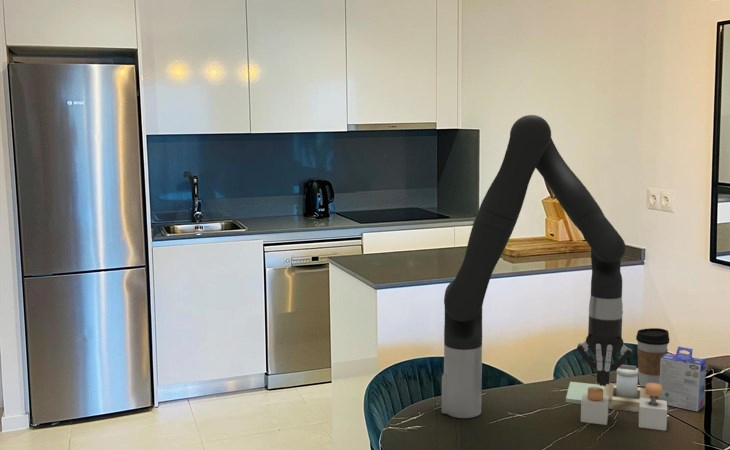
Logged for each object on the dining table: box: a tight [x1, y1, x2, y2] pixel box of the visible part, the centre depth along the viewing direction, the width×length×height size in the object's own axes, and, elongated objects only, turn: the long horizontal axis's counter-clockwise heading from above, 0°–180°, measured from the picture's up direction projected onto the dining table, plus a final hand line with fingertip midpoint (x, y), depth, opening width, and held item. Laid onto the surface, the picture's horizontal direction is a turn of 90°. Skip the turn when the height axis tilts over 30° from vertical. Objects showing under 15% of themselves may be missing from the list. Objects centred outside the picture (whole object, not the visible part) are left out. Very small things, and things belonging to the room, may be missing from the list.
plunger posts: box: [580, 393, 668, 431], centre depth 176 cm, size 19×7×5 cm, turn 70°
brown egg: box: [645, 383, 662, 406], centre depth 173 cm, size 4×4×6 cm
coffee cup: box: [635, 327, 671, 388], centre depth 199 cm, size 8×8×15 cm
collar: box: [603, 383, 651, 413], centre depth 187 cm, size 11×11×2 cm
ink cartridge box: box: [657, 346, 707, 412], centre depth 185 cm, size 10×6×14 cm, turn 53°
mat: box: [565, 381, 604, 405], centre depth 193 cm, size 9×13×1 cm
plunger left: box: [587, 387, 603, 400], centre depth 177 cm, size 4×4×6 cm
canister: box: [615, 364, 639, 399], centre depth 187 cm, size 5×5×10 cm
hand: (602, 384), depth 176 cm, fingers closed
